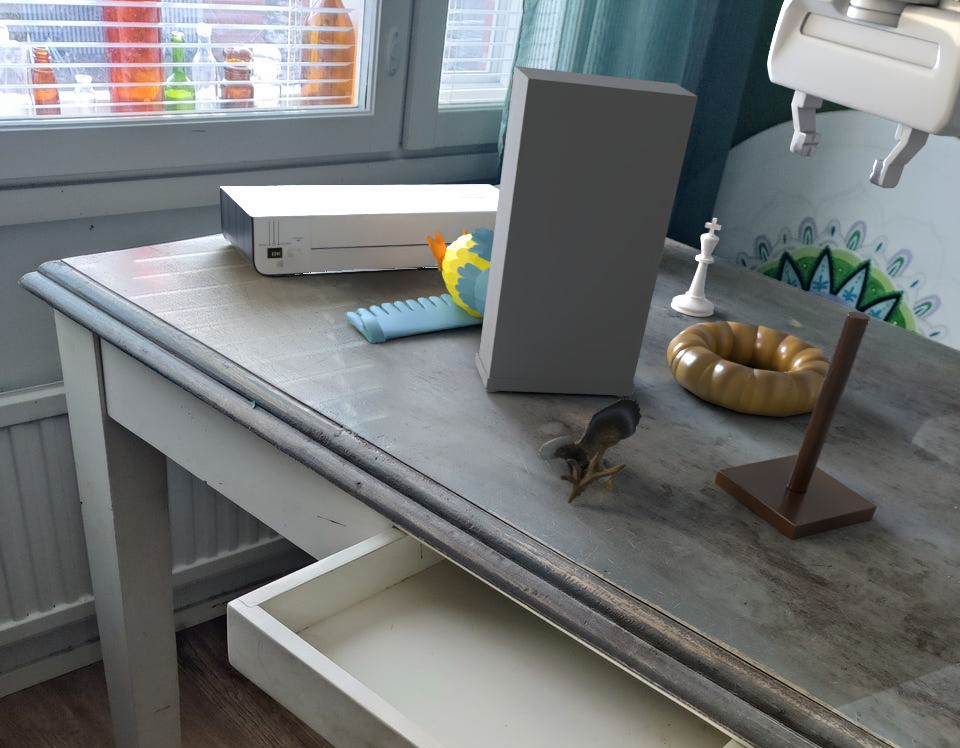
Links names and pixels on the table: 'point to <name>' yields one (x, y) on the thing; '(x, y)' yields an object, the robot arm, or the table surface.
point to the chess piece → (699, 279)
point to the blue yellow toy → (464, 282)
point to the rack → (807, 462)
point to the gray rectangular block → (580, 229)
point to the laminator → (350, 224)
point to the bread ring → (723, 381)
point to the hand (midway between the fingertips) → (840, 169)
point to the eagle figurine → (594, 446)
